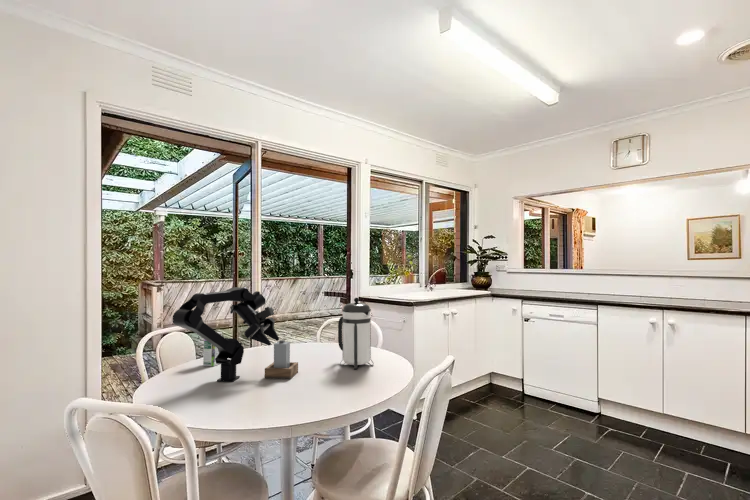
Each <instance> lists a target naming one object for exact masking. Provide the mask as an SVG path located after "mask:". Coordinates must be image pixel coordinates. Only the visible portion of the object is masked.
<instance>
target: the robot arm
mask: <svg viewBox="0 0 750 500" xmlns="http://www.w3.org/2000/svg"><path fill="white" fill-rule="evenodd" d="M222 302H223V303H224V302H238V303H237V304H231V306H230V312H229V313H230V314H233V313H236V314H237V315H238V316H239V317H240V318H241V320H242V321H243V322H242V323H243V324H244V325H247V326H248V327H247V329H245V331H244V336H245V338H246V339H249V340H253V341H256V342H258V343H259V342H260V343H261V344H264V345H267V346H271V345H272V342H271V341H270V339H269V338H272V339H273V340H275V341H277V342H279V341H280V337H279V335H278V333H277V331H276V329H275V323H276V320H275V319H274V318H273V317H271V316H274V315H275V312H274V311H275V309H274V308H273V307H271V306H270V305H269V306H266V307H264V309H263V310H262V311H259V310H258V309H260V308H261V307H263V306H264V305H265V304H266V302H267V301H266V298H265V296H263V295H262V294H261V292H260V291H254V292H253V293H251V292H250V290H249V288H248V287H239V286H238V287H236V286H233V287H230V288H228V289H226V290H223V291H215V292H214V291H213V292H202V293H198V292H197V293H194V294H193V295H192V296H191V297H190V298H189V299H188V300H187V301H186V302H184V303H182V305H180V306H179V308H178V309H177V310H176V311H175V312H174V313H173V315H172V323H173V325H175V326H176V327H177V326H178V327H180V328H182V329H186V330H190V331H192V332H193V333H195V334H196V335H198V336H199V337H201V339H203V340H204V339H205V340H206V341H208V342H209V343H211V344H212V345H214V346H215V347H217V348H218V351H219V354H218V356H217V357H216V358H215V361H216V363H217V364H219V365H220V377H219V378H218V379H217V380H216V382H219V383H220V382H225V383H232V382H235V381H236V380H238V379H239V378H240V377H241V376H240V375H237V365H240V364H241V363H242V361H243V357H244V354H245V353H244V352H245V350H244V348H245V347H244V346H243V342H240V341H239V340H238V339H236V338H231V337H230V338H229V337H224V336H223V335H222V336H221V335H220V334H219V333H217V332H218V331H216V330H214V329H213V328H212V327H211V326H209V325H208V324H206V323H205V322H204V320H203V317H202V315H203V314H204V312H205V307H206V305H207V304H213V303H222ZM267 336H268V337H269V338H268V337H267Z"/></svg>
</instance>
